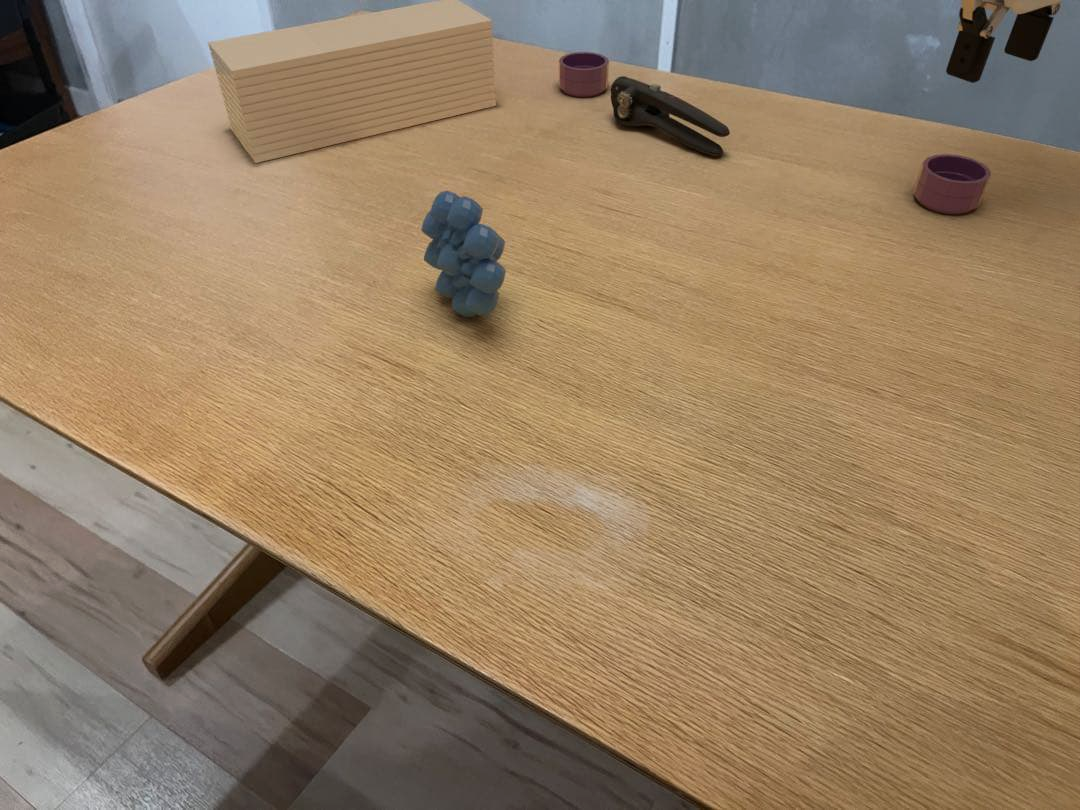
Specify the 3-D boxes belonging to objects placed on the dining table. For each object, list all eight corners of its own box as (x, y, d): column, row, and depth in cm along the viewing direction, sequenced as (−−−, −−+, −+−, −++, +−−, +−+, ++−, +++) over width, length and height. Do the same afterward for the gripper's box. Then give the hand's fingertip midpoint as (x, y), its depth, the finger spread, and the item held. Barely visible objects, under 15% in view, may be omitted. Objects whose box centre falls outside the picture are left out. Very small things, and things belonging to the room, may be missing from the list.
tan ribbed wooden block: (255, 163, 96) (231, 70, 89) (231, 130, 103) (207, 42, 96) (496, 106, 108) (491, 19, 101) (460, 80, 115) (454, -3, 108)
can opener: (595, 121, 104) (597, 76, 101) (634, 106, 108) (636, 62, 104) (702, 168, 94) (708, 121, 91) (741, 150, 98) (748, 103, 94)
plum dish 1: (603, 78, 115) (604, 50, 112) (611, 97, 110) (612, 68, 108) (556, 81, 114) (556, 53, 112) (562, 99, 110) (562, 70, 107)
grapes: (543, 329, 72) (542, 206, 64) (476, 356, 69) (466, 231, 61) (475, 269, 79) (467, 151, 71) (413, 292, 76) (396, 172, 68)
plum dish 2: (959, 185, 91) (971, 152, 88) (989, 214, 86) (1003, 181, 83) (902, 188, 90) (912, 155, 88) (929, 218, 85) (940, 185, 83)
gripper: (1058, -128, 61) (974, 100, 73) (1168, -149, 69) (1076, 60, 80) (967, -143, 66) (902, 74, 77) (1080, -161, 73) (1005, 38, 85)
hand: (991, 66), depth 79 cm, fingers open, 9 cm apart
